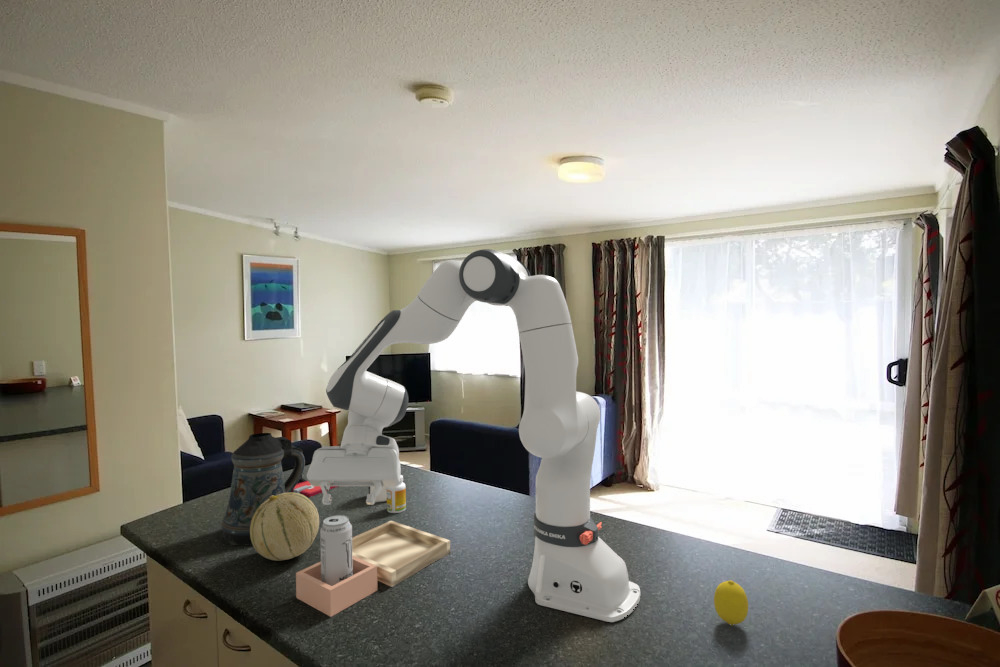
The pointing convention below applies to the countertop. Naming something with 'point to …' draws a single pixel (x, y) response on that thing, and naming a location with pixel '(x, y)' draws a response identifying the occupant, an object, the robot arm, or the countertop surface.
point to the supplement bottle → (396, 497)
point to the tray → (398, 550)
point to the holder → (336, 587)
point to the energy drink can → (336, 549)
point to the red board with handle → (307, 488)
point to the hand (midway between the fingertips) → (348, 503)
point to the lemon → (731, 602)
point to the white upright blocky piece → (381, 496)
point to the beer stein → (257, 481)
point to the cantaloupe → (284, 526)
